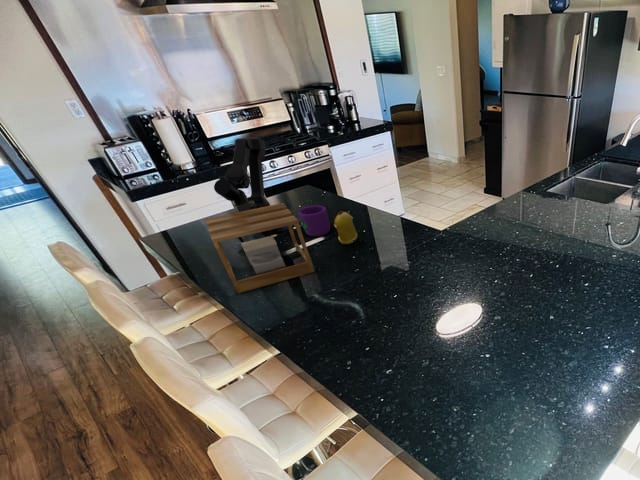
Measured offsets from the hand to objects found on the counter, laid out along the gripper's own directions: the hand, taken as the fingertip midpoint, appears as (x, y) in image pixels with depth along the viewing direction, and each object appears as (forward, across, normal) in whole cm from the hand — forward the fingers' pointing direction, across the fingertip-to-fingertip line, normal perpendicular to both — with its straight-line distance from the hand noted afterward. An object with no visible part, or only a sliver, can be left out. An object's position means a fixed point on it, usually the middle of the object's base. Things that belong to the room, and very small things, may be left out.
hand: (258, 242), depth 153 cm
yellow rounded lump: (+9, +32, +1) cm, 34 cm away
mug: (-6, +24, +16) cm, 30 cm away
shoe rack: (+13, 0, -3) cm, 13 cm away
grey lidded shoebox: (+10, 0, -1) cm, 11 cm away
